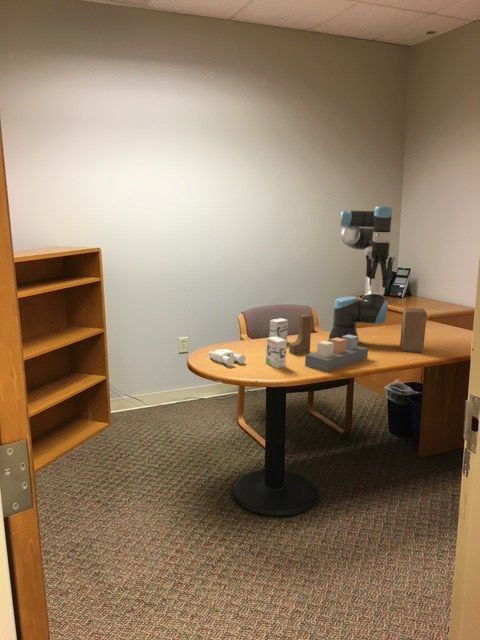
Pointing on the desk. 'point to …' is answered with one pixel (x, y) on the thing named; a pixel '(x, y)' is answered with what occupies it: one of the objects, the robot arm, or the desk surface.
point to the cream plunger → (325, 349)
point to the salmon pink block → (339, 345)
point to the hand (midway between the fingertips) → (377, 293)
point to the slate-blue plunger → (351, 341)
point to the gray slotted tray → (336, 359)
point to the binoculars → (227, 356)
